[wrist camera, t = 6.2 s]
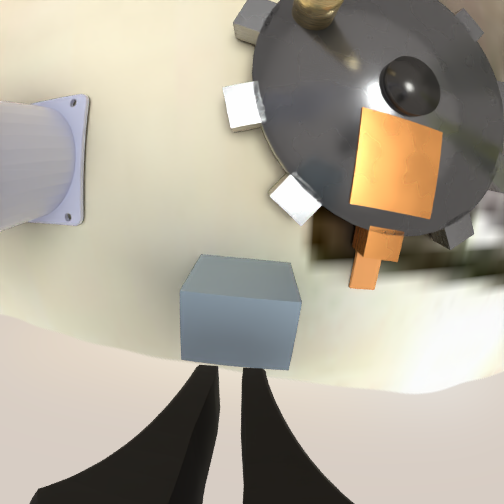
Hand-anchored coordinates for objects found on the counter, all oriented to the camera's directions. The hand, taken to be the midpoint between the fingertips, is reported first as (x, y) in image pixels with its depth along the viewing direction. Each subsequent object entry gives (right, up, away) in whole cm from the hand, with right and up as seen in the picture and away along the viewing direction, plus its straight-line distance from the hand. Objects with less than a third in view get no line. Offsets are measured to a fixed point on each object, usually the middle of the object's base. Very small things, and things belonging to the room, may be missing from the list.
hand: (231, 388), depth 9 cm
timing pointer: (+7, +4, +8) cm, 11 cm away
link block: (0, +2, +8) cm, 8 cm away
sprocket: (+8, +13, +4) cm, 16 cm away
